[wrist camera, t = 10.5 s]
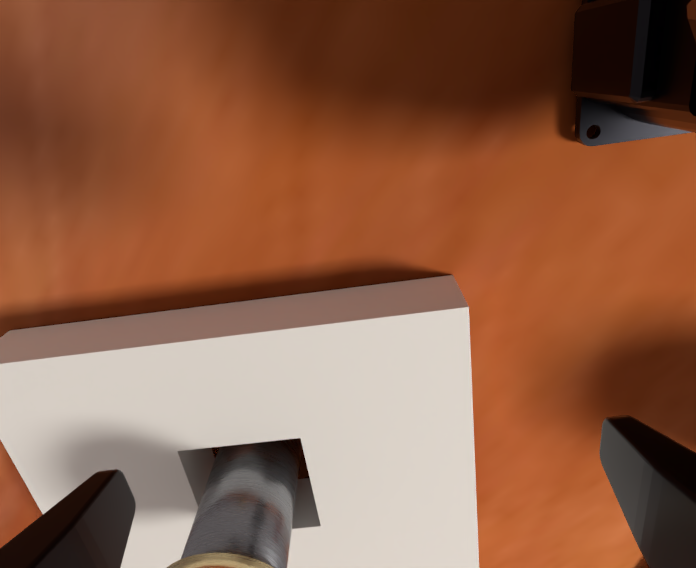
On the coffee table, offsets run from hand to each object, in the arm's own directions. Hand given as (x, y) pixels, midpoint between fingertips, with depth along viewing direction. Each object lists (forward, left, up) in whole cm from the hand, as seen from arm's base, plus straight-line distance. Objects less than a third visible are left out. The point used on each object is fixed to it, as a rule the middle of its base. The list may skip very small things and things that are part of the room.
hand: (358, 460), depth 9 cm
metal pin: (+6, +10, -12) cm, 17 cm away
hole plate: (+6, +10, -12) cm, 17 cm away
